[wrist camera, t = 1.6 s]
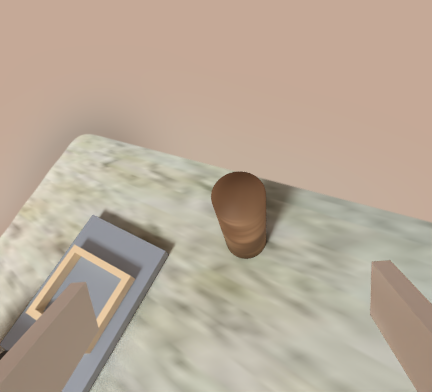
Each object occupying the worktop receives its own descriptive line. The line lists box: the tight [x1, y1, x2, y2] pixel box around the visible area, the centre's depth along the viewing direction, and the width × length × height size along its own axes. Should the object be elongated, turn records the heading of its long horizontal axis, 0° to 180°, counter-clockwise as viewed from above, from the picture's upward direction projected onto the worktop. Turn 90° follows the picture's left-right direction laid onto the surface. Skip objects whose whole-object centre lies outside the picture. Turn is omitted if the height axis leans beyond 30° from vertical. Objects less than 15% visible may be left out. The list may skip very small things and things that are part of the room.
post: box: [211, 172, 266, 259], centre depth 34 cm, size 5×5×12 cm
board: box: [0, 215, 169, 392], centre depth 37 cm, size 12×18×3 cm, turn 152°
